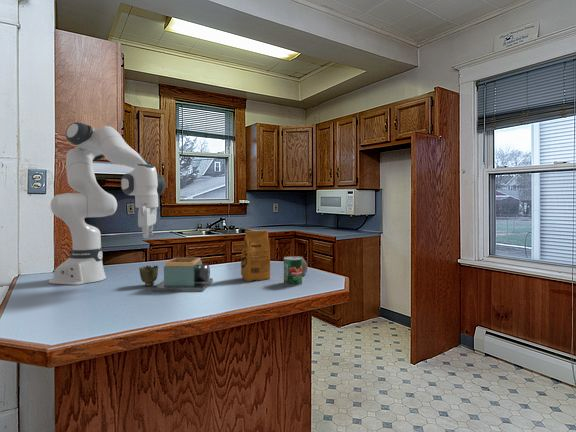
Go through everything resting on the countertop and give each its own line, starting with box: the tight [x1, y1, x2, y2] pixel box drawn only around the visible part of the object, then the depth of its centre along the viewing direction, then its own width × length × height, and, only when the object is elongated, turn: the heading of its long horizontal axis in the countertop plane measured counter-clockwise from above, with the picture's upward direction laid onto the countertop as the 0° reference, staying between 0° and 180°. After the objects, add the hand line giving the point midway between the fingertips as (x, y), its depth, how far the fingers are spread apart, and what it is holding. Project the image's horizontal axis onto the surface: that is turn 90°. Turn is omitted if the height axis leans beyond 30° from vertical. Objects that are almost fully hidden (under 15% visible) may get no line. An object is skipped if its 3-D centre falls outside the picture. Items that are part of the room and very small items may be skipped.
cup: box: [138, 264, 159, 287], centre depth 149 cm, size 8×7×8 cm
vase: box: [297, 255, 308, 277], centre depth 167 cm, size 7×7×9 cm
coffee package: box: [240, 229, 271, 282], centre depth 160 cm, size 10×12×22 cm
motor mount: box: [151, 257, 214, 293], centre depth 148 cm, size 20×16×11 cm
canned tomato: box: [283, 255, 303, 287], centre depth 151 cm, size 8×8×11 cm
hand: (148, 236), depth 148 cm, fingers open, 8 cm apart
